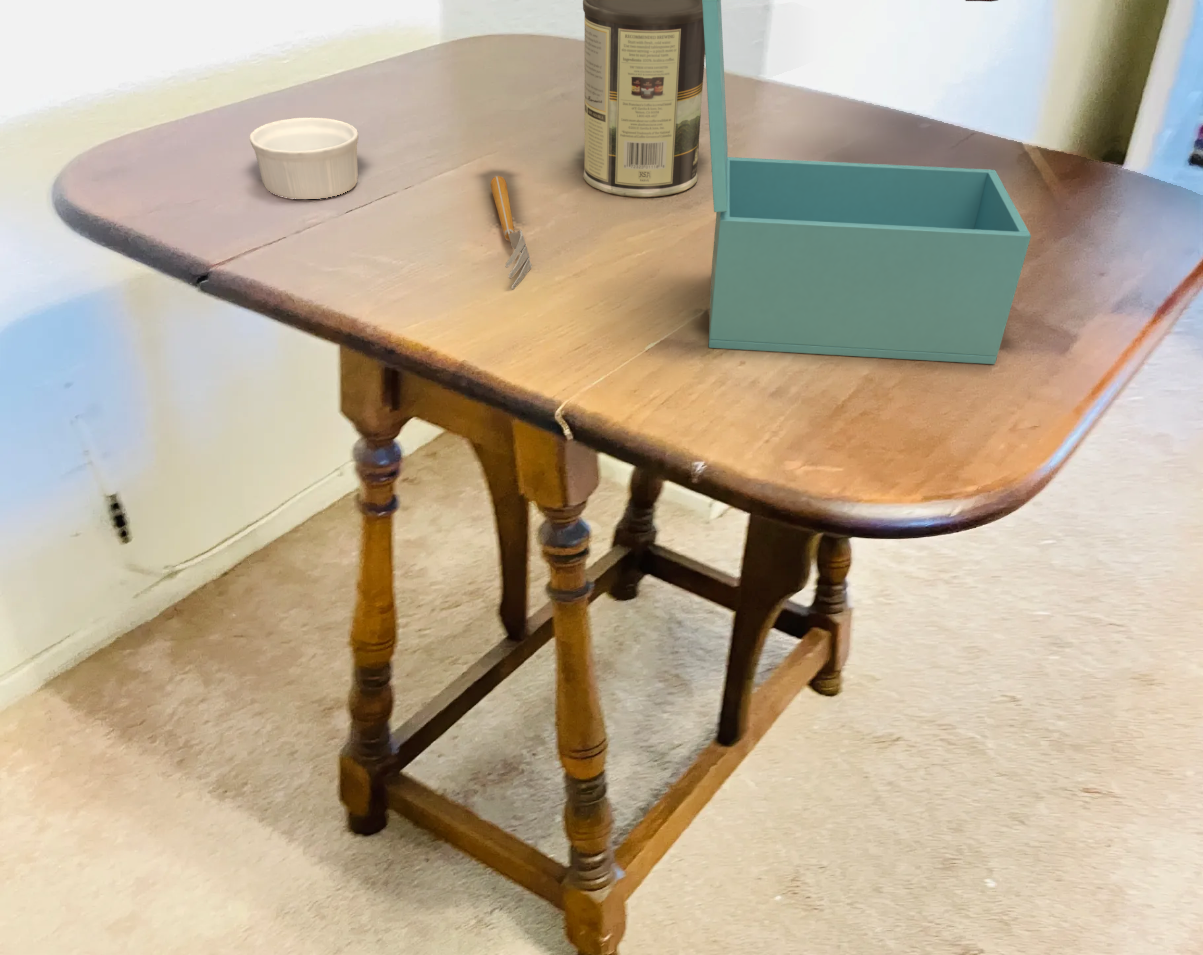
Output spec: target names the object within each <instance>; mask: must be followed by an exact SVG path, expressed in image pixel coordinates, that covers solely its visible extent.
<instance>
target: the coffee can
mask: <svg viewBox="0 0 1203 955" xmlns="http://www.w3.org/2000/svg"><path fill="white" fill-rule="evenodd" d="M582 9H583V10H582V11H583V13H584V99H583V100H584V126H583V128H584V132H583V134H584V139H583V140H584V144H583V146H584V148H583V149H584V160H583V161H584V165H583V168H584V170H583V174H582V175H583V180H584V181H585V182H586V183H587V184H588V185H589V186H591V187H592V188H594V189H596V190H599V191H602V192H604V193H608V194H611V195H616V196H620V197H621V196H622V197H634V198H635V197H636V198H653V197H662V196H665V197H666V196H670V195H671V196H672V195H676V194H678V193H682V192H685V191H687V190H689V189H691V188H692V187H693V186H694V185H696V183H697V182H698V177H699V176H698V163H699V148H700V134H701V133H700V132H701V116H702V102H703V86H704V73H705V63H706V59H705V41H704V23H703V5H702V0H582Z"/></svg>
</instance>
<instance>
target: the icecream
mask: <svg viewBox="0 0 1203 955" xmlns="http://www.w3.org/2000/svg"><path fill="white" fill-rule="evenodd" d="M964 1H965V2H991V3H992V2H998V1H999V0H964Z"/></svg>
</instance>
